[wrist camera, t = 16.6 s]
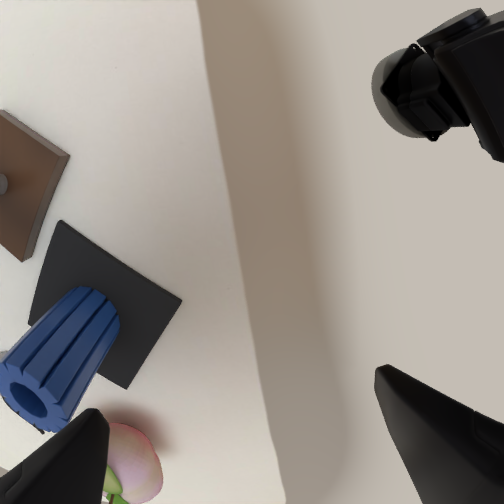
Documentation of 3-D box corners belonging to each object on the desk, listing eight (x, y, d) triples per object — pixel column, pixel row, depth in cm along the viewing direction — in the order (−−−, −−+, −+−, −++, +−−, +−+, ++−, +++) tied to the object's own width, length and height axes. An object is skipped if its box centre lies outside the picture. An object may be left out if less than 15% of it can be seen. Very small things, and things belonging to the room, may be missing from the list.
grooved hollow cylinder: (73, 273, 20) (-6, 345, 10) (129, 311, 21) (74, 405, 11) (57, 320, 21) (-6, 395, 11) (107, 354, 22) (60, 443, 12)
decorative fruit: (81, 395, 24) (44, 468, 15) (154, 402, 24) (130, 490, 15) (111, 448, 27) (90, 513, 18) (176, 456, 27) (165, 529, 18)
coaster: (60, 219, 19) (57, 220, 18) (182, 300, 21) (181, 303, 21) (30, 321, 21) (27, 323, 21) (127, 386, 24) (126, 390, 23)
